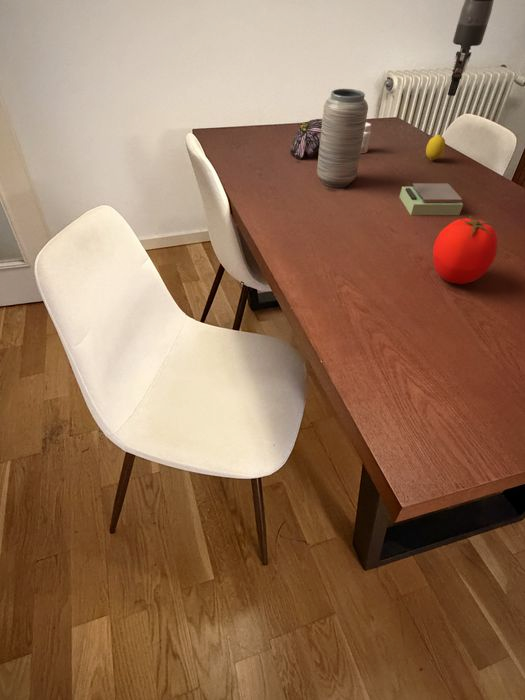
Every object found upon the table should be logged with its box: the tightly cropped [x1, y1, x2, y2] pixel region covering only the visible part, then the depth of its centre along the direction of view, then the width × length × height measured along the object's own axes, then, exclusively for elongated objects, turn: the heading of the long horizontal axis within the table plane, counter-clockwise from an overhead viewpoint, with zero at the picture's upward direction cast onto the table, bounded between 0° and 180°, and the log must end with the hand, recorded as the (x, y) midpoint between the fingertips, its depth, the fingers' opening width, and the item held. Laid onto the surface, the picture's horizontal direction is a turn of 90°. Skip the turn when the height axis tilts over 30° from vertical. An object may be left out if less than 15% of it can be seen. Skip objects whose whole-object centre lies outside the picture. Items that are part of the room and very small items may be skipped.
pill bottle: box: [360, 122, 372, 154], centre depth 136 cm, size 5×5×8 cm
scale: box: [398, 186, 464, 216], centre depth 108 cm, size 13×11×4 cm
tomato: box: [432, 215, 498, 285], centre depth 80 cm, size 12×12×13 cm
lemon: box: [425, 134, 446, 162], centre depth 130 cm, size 6×6×8 cm
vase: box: [316, 88, 369, 188], centre depth 112 cm, size 12×12×23 cm
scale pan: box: [411, 182, 463, 202], centre depth 107 cm, size 10×10×1 cm
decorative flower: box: [289, 118, 323, 161], centre depth 133 cm, size 15×12×15 cm
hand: (452, 92), depth 119 cm, fingers open, 8 cm apart
